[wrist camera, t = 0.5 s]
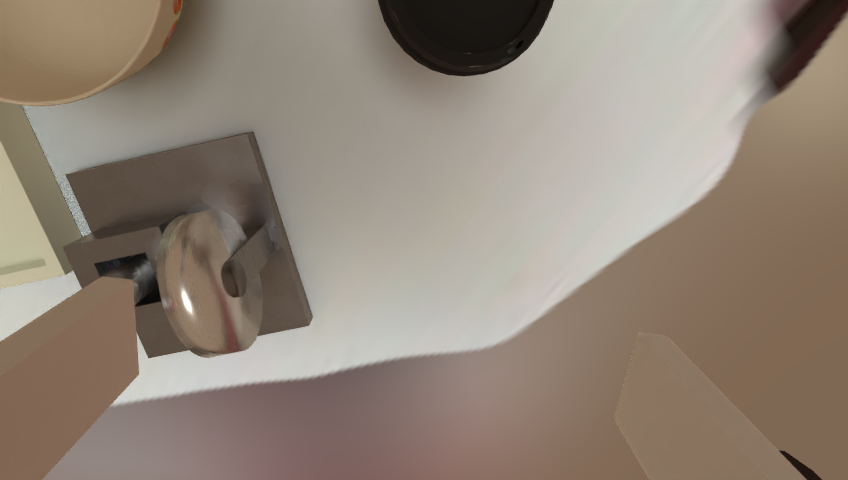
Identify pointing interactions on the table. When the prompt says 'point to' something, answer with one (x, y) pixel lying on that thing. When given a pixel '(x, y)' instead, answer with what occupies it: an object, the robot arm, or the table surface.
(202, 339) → the block
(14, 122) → the tray
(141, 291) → the pin
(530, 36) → the coffee cup
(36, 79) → the bowl
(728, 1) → the table surface
